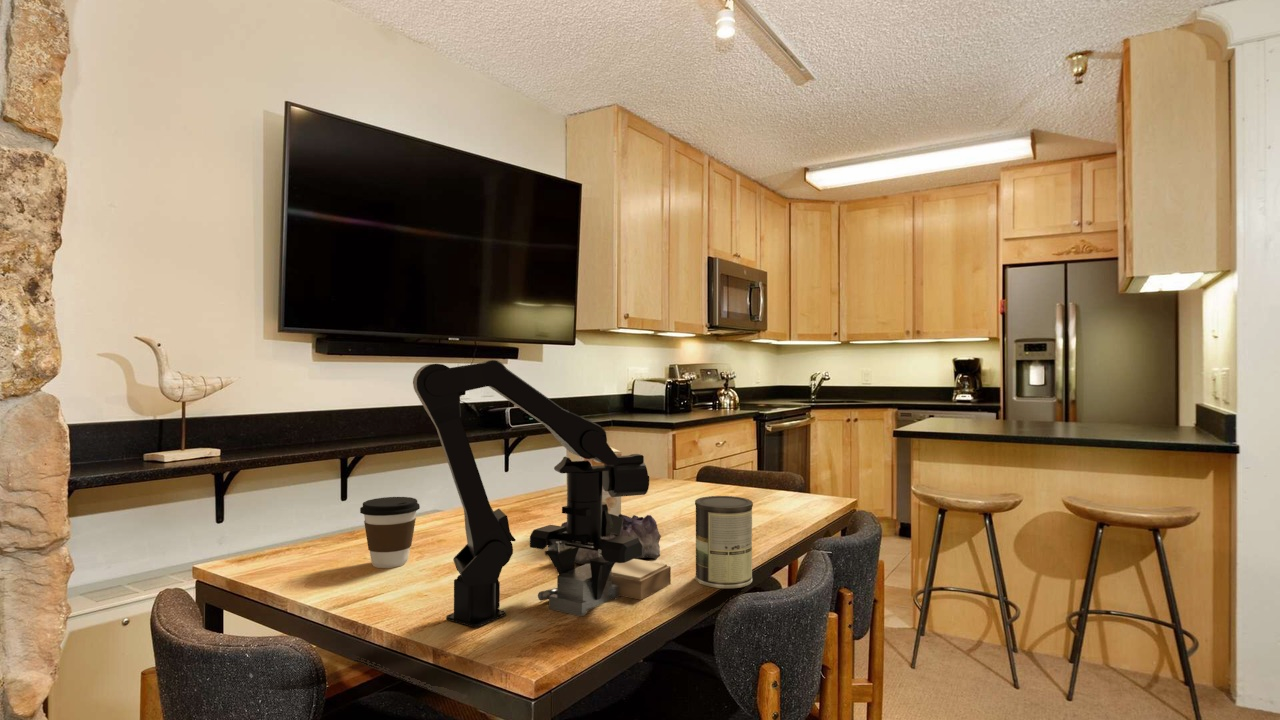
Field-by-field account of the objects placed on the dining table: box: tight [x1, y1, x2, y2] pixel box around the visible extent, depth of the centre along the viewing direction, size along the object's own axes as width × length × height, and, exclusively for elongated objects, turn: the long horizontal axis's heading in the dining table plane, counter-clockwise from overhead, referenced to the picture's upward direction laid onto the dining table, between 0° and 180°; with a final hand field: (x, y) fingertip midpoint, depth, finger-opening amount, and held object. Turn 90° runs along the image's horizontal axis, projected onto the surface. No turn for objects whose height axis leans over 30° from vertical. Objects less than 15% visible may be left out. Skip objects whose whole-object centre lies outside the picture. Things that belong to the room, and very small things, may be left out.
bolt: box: [537, 587, 557, 602], centre depth 111 cm, size 6×2×2 cm
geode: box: [560, 513, 662, 565], centre depth 137 cm, size 20×12×10 cm, turn 109°
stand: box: [612, 559, 672, 601], centre depth 119 cm, size 10×12×3 cm
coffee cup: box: [359, 496, 421, 569], centre depth 132 cm, size 11×11×12 cm
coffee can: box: [694, 495, 754, 589], centre depth 123 cm, size 10×10×14 cm
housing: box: [548, 564, 620, 617], centre depth 110 cm, size 10×6×5 cm, turn 148°
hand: (584, 596), depth 110 cm, fingers closed on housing, 5 cm apart
